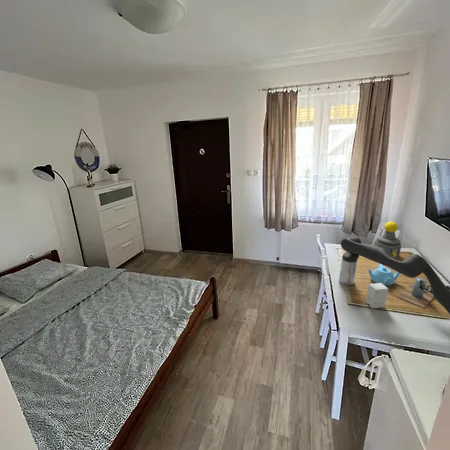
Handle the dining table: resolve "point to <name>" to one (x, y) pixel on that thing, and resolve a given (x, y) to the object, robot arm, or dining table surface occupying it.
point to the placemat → (408, 297)
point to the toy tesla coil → (390, 240)
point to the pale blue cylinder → (416, 290)
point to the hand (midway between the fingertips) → (428, 281)
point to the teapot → (383, 275)
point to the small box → (376, 295)
